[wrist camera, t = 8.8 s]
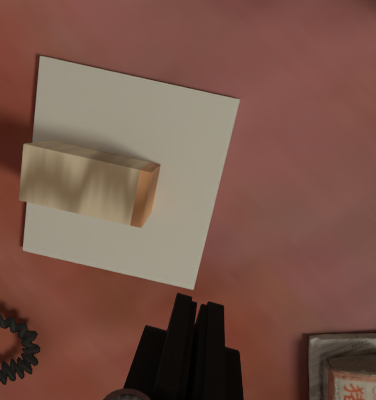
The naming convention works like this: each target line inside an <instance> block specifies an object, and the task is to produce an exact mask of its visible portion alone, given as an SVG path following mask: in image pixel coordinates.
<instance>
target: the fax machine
mask: <svg viewBox="0 0 376 400" xmlns="http://www.w3.org/2000/svg"><path fill="white" fill-rule="evenodd" d="M0 327H1V328H4V329H6V328H8V327H10V331H11V332H12V333H16V332H18V337H19V338H20V339H22V342H21V343H22V345H23V346H24V347H25V348H23V349H22V350H23V352H24V353H25V354H24V353H22V354H21V356H22V358H23V360H22V359H21V358H19V357H18V359H17V364H16V362H15V361H14V360H13V359H11V362H10V366H9V365H8V364H7V363H6V362H2V370H0V381H1V382H2V384H4V385H6V382H7V377H9V379H10V380H11V381H15V380H16V375H15V374H16V372H17V374H18V375H19V377H20V378H21V379H23V378H24V370H25V371H26V372H27V373H29V374H32V367H31V365H30V364H33V365H34V366H36V365H37V364H38V360H37V358H36V357H35V356H34V355H33V354H36V353H38V352H40V347H39V346H38V345H36V344H33V343H32V341H34V340H35V339H36V336H37V335H38V334H37V332H36V331H26V330H27V325H26V324H25V323H19V324H17V325H16V322H15V319H14V318H12V317H9V318H7V319H6V320H5V321H4V319H3V317H2V316H1V314H0ZM23 369H24V370H23Z"/></svg>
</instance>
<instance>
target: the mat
mask: <svg viewBox="0 0 376 400" xmlns="http://www.w3.org/2000/svg"><path fill="white" fill-rule="evenodd" d="M239 101H240V99H235V98H230V97H226V96H221V95H217V94H212V93H208V92H203V91H199V90H194V89H190V88H185V87H180V86H176V85H171V84H167V83H162V82H158V81H153V80H149V79H144V78H139V77H135V76H130V75H126V74H121V73H117V72H112V71H108V70H103V69H99V68H94V67H89V66H85V65H80V64H76V63H71V62H67V61H62V60H58V59H53V58H48V57H44V56H40V61H39V73H38V84H37V95H36V106H35V118H34V129H33V140H32V143H34V142H42V141H50V140H53V141H58V142H62V143H67V144H71V145H76V146H80V147H85V148H89V149H93V150H98V151H102V152H107V153H111V154H116V155H120V156H125V157H129V158H134V159H138V160H143V161H147V162H152V163H156V164H161V166H160V171H159V176H158V182H157V187H156V192H155V197H154V202H153V208H152V212H151V214H150V215H149V217H148V219H147V220H146V222H145V223H144V225H143V226H142V228H139V227H134V226H130V225H125V224H121V223H117V222H112V221H108V220H103V219H99V218H95V217H90V216H86V215H81V214H77V213H73V212H68V211H64V210H59V209H55V208H50V207H46V206H42V205H37V204H33V203H28V202H27V208H26V219H25V230H24V242H23V251H27V252H31V253H35V254H40V255H44V256H49V257H53V258H57V259H62V260H66V261H70V262H75V263H79V264H83V265H88V266H92V267H96V268H101V269H105V270H110V271H114V272H118V273H123V274H127V275H131V276H136V277H140V278H144V279H149V280H153V281H157V282H162V283H166V284H171V285H175V286H179V287H184V288H188V289H192V290H194V286H195V281H196V277H197V273H198V269H199V265H200V261H201V257H202V253H203V249H204V244H205V240H206V236H207V232H208V228H209V224H210V220H211V216H212V212H213V208H214V203H215V199H216V195H217V191H218V187H219V183H220V179H221V175H222V171H223V167H224V162H225V158H226V154H227V150H228V146H229V142H230V138H231V134H232V130H233V125H234V121H235V117H236V113H237V109H238V105H239Z"/></svg>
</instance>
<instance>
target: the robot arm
mask: <svg viewBox="0 0 376 400" xmlns="http://www.w3.org/2000/svg"><path fill="white" fill-rule="evenodd" d="M196 308H197V302H193V301H192V297H191V296H187V295H184V294H180V293H177V296H176V299H175V303H174V307H173V310H172V314H171V318H170V321H169V325H168V329H167V331H166V330H162V329H159V328H155V327H152V326H148V325H146V326H145V328H144V331H143V334H142V337H141V339H140V342H139V345H138V348H137V351H136V354H135V356H134V359H133V362H132V365H131V368H130V371H129V374H128V376H127V379H126V382H125V385H124V388H123V389H119V390H115V391H113V392H111V393H110V394H108V395H107V396H106V397H105V398H104V399H103V400H244V398H243V386H242V375H241V363H240V354H239V351H238V350H235V349H231V348H227V347H225V332H224V306H223V305H220V304H217V303H213V302H209V301H208V303H207V305H204V304H201V306H200V310H199V313H198V316H197V320H196V323H195V316H196ZM194 325H195V326H194Z"/></svg>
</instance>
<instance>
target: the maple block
mask: <svg viewBox="0 0 376 400" xmlns="http://www.w3.org/2000/svg"><path fill="white" fill-rule="evenodd" d="M160 166H161V164H156V163H152V162H147V161H143V160H138V159H134V158H129V157H125V156H120V155H116V154H111V153H107V152H102V151H98V150H93V149H89V148H85V147H80V146H76V145H71V144H67V143H62V142H58V141H53V140H50V141H42V142H34V143H26V144H23V156H22V169H21V181H20V193H19V200H20V201H24V202H28V203H33V204H37V205H42V206H46V207H50V208H55V209H59V210H64V211H68V212H73V213H77V214H81V215H86V216H90V217H95V218H99V219H103V220H108V221H112V222H117V223H121V224H125V225H130V226H134V227H139V228H142V226H143V225H144V223H145V222H146V220H147V219H148V217H149V215H150V214H151V212H152V208H153V202H154V197H155V192H156V187H157V182H158V176H159V171H160Z"/></svg>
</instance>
